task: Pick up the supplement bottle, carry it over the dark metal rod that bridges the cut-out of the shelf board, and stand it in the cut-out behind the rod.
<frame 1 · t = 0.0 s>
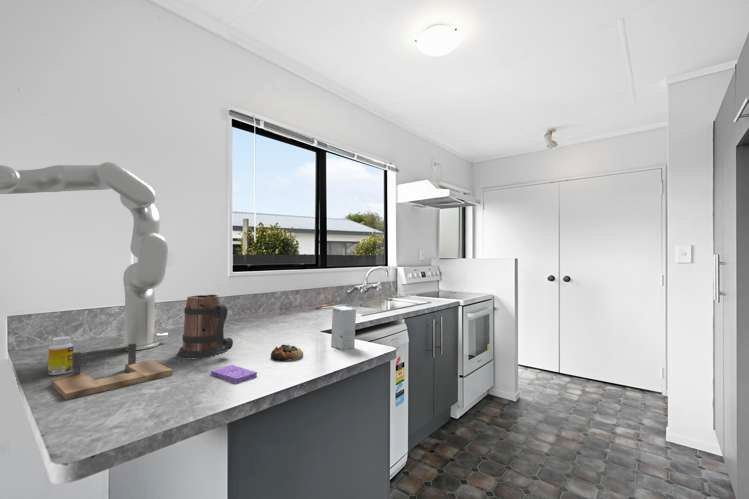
sponges: (233, 378, 106), on the worktop
skincare box: (343, 347, 139), on the worktop
supplement bottle: (60, 373, 108), on the worktop
shelf board: (114, 379, 102), on the worktop
tankard: (208, 354, 130), on the worktop
bread roll: (287, 358, 125), on the worktop
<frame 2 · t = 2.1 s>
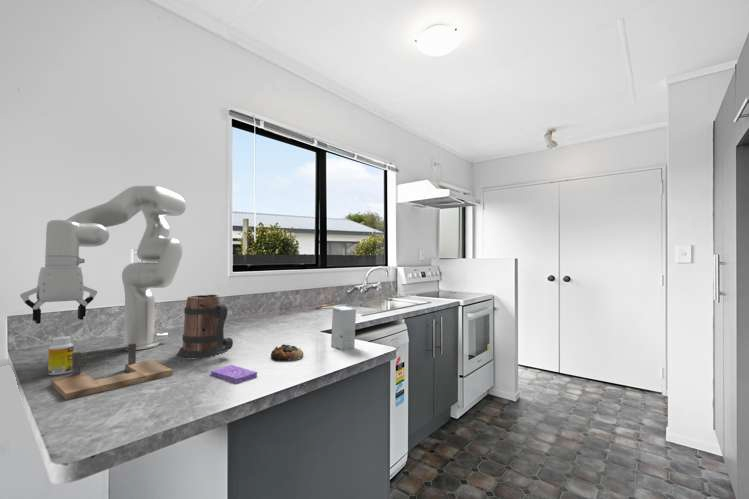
hand: (59, 321, 107), 15 cm above the worktop, fingers open, 9 cm apart
nothing on the worktop moved.
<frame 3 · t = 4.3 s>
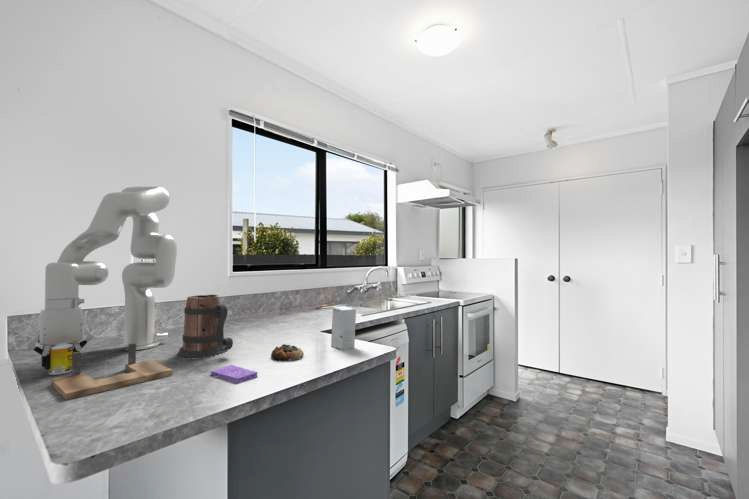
hand: (60, 365, 108), 2 cm above the worktop, fingers closed on supplement bottle, 5 cm apart
supplement bottle: (60, 373, 108), on the worktop, touching gripper
everything else where it was.
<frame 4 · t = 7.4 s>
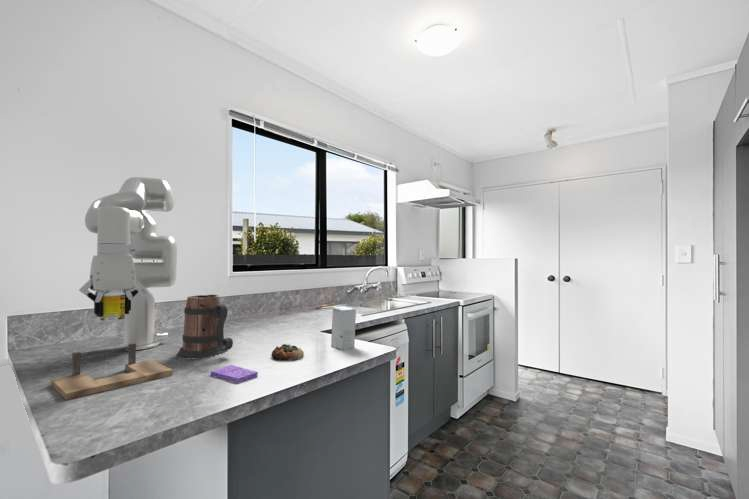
hand: (112, 314, 104), 18 cm above the worktop, fingers closed on supplement bottle, 5 cm apart
supplement bottle: (112, 322, 103), point 16 cm above the worktop, touching gripper
everything else where it was.
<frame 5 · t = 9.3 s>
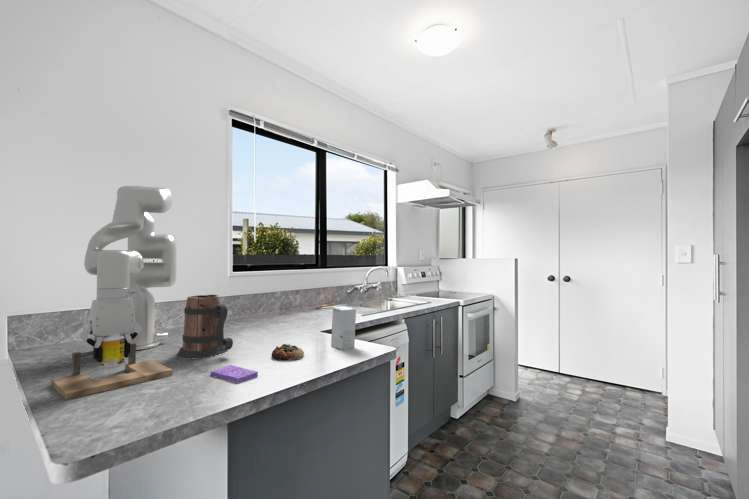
hand: (112, 358, 103), 6 cm above the worktop, fingers closed on supplement bottle, 5 cm apart
supplement bottle: (112, 366, 103), point 3 cm above the worktop, touching gripper
everything else where it was.
when the fingers open (4 cm above the worktop, at t = 10.6 s): supplement bottle drops 2 cm, on the worktop.
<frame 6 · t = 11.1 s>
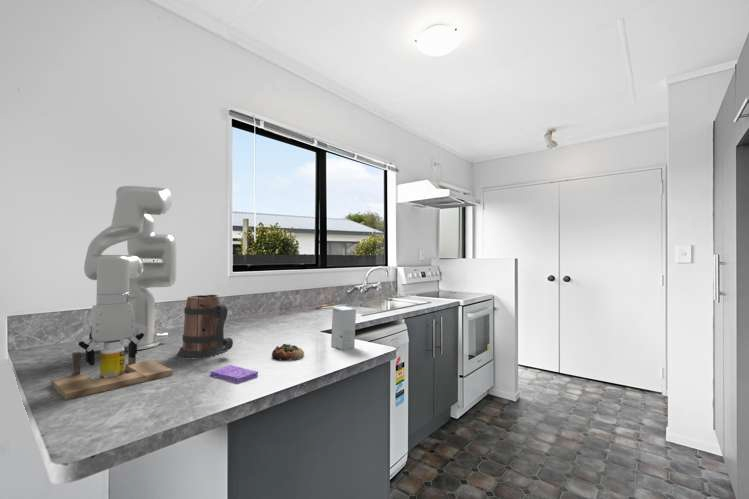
hand: (112, 360, 103), 5 cm above the worktop, fingers open, 9 cm apart
supplement bottle: (112, 378, 103), on the worktop
everything else where it was.
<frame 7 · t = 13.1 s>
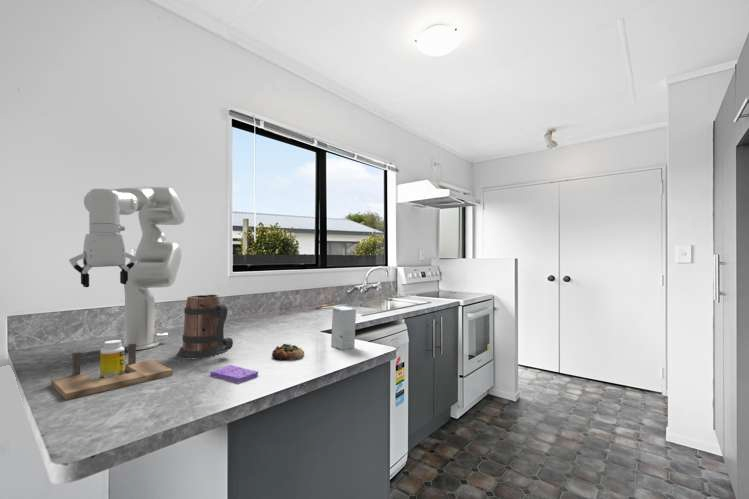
hand: (105, 285, 114), 25 cm above the worktop, fingers open, 9 cm apart
nothing on the worktop moved.
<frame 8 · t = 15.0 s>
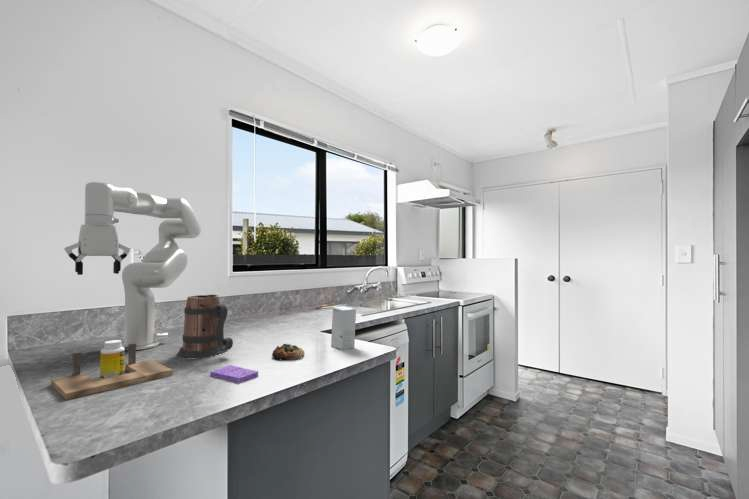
hand: (98, 274, 119), 28 cm above the worktop, fingers open, 9 cm apart
nothing on the worktop moved.
at the end: supplement bottle inside the target area (0.7 cm from its centre), on the worktop; supplement bottle tilted 0°; the gripper is holding nothing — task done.
